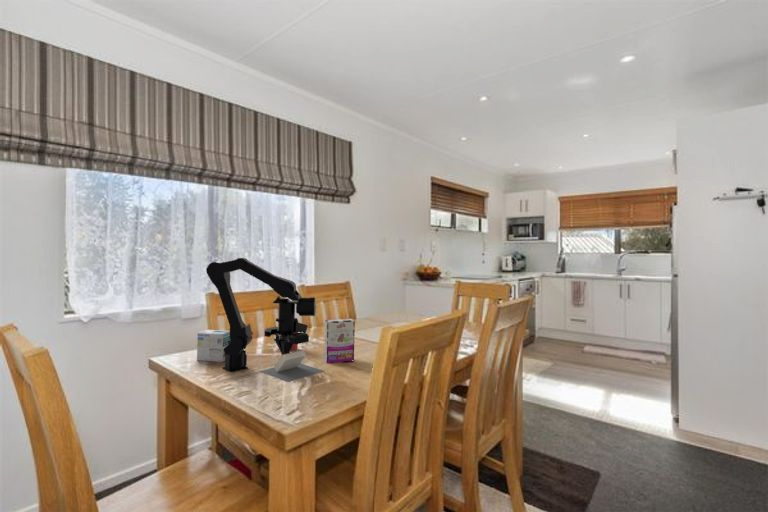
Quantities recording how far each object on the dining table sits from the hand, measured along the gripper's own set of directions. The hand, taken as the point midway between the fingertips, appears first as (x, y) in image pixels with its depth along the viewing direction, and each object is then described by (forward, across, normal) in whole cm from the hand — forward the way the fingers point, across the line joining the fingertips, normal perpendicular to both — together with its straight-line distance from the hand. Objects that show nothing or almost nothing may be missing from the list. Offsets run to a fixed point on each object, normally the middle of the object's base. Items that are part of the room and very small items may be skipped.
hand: (285, 358), depth 137 cm
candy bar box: (+4, -6, -21) cm, 22 cm away
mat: (+4, -4, 0) cm, 6 cm away
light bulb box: (+4, +30, +11) cm, 32 cm away
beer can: (+4, +21, -18) cm, 28 cm away
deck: (+3, 0, 0) cm, 3 cm away
